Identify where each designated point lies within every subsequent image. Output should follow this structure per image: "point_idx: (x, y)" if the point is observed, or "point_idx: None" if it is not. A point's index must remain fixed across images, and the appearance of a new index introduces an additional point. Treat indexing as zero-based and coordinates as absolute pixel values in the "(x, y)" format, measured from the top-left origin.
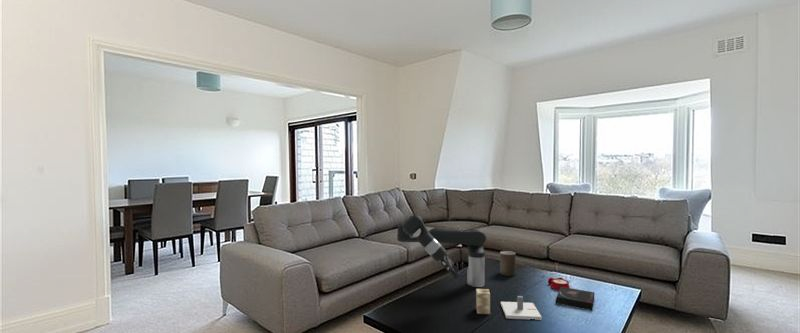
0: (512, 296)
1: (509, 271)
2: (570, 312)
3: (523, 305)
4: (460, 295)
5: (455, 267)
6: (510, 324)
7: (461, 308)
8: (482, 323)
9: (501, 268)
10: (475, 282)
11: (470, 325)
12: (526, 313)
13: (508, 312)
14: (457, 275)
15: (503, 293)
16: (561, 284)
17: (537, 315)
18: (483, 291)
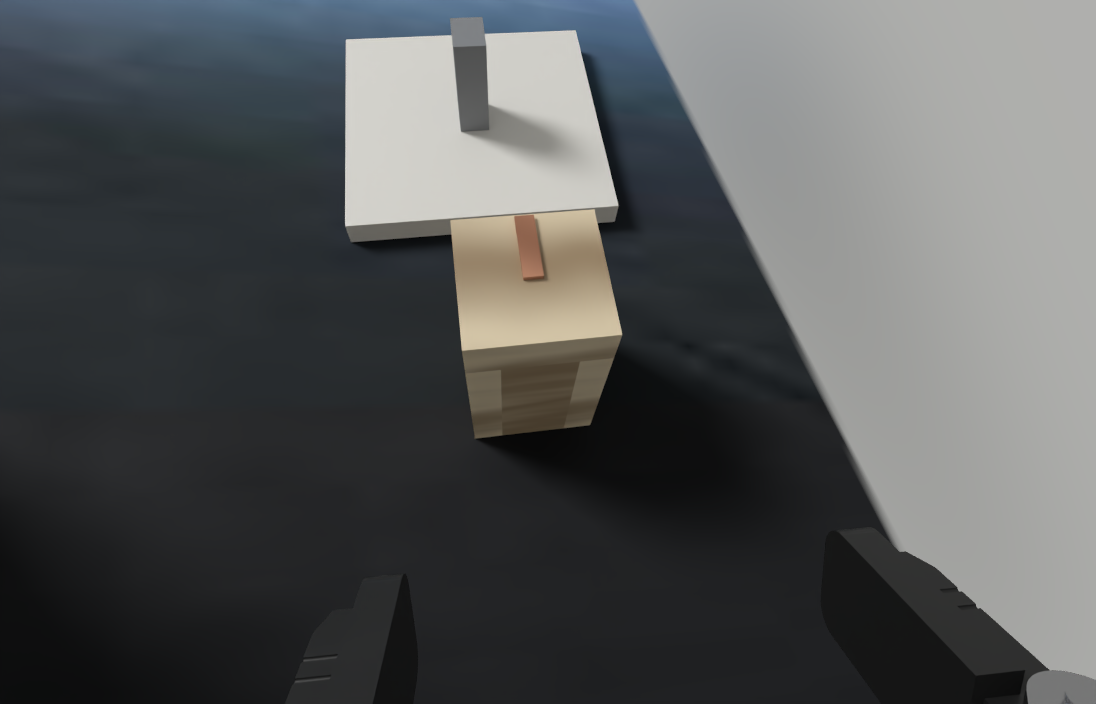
0: (164, 153)
1: None
2: None
3: (405, 93)
4: (114, 634)
5: (383, 680)
6: (702, 204)
7: (505, 587)
8: (765, 381)
9: None
10: None
11: (844, 475)
12: (547, 92)
13: (562, 189)
14: (918, 558)
15: (86, 209)
16: None
17: (560, 45)
18: (542, 270)
